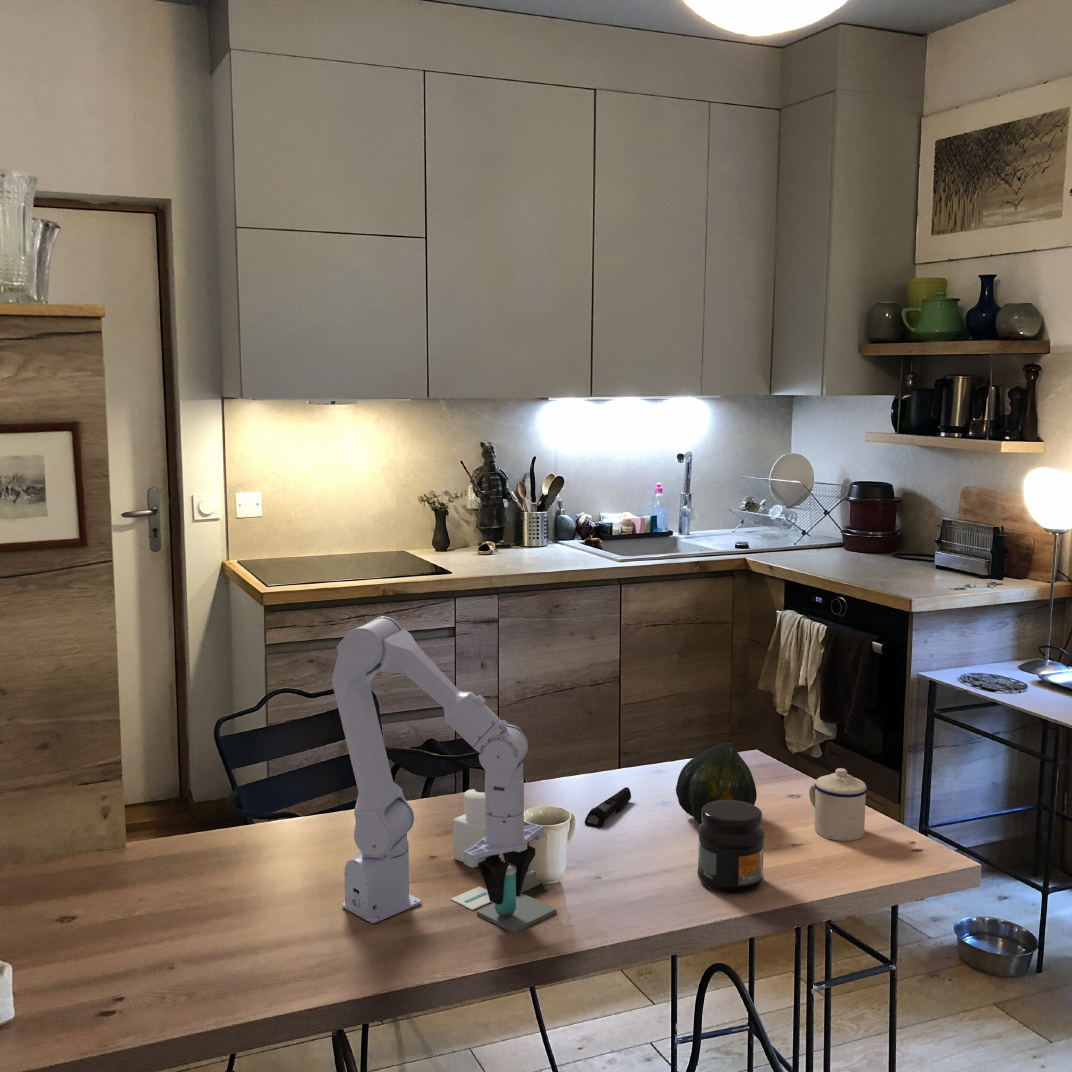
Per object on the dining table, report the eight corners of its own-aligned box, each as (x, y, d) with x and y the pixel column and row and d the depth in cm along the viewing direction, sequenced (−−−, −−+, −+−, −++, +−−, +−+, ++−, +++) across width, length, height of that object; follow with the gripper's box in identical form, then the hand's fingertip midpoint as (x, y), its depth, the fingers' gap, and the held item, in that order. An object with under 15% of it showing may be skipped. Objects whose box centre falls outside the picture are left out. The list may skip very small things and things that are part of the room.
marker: (505, 919, 158) (504, 874, 158) (489, 912, 161) (489, 867, 160) (521, 911, 161) (520, 867, 160) (505, 904, 163) (505, 860, 162)
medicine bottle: (481, 845, 188) (480, 779, 186) (512, 856, 183) (512, 788, 182) (452, 859, 182) (452, 790, 181) (484, 870, 178) (483, 800, 176)
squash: (658, 801, 194) (715, 743, 191) (666, 776, 209) (720, 722, 205) (716, 857, 193) (775, 800, 189) (720, 828, 207) (775, 775, 204)
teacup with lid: (876, 836, 192) (879, 773, 191) (838, 846, 188) (841, 781, 186) (827, 813, 202) (830, 753, 201) (791, 822, 198) (793, 761, 197)
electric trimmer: (636, 803, 209) (636, 787, 208) (601, 830, 195) (601, 813, 195) (618, 800, 210) (618, 784, 210) (582, 826, 197) (582, 809, 197)
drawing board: (513, 933, 157) (513, 929, 157) (476, 914, 162) (476, 911, 162) (556, 912, 163) (556, 908, 163) (519, 895, 169) (519, 891, 169)
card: (472, 910, 164) (472, 908, 164) (450, 899, 167) (450, 898, 167) (501, 897, 168) (501, 896, 168) (479, 887, 171) (479, 886, 171)
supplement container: (777, 886, 172) (779, 814, 171) (726, 902, 167) (728, 827, 165) (733, 862, 181) (734, 793, 180) (683, 876, 176) (685, 805, 174)
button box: (514, 895, 169) (514, 880, 168) (488, 883, 173) (488, 868, 173) (541, 883, 173) (541, 868, 173) (515, 872, 177) (515, 857, 177)
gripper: (486, 831, 151) (487, 923, 153) (558, 804, 161) (557, 890, 163) (453, 818, 156) (454, 907, 158) (524, 792, 166) (525, 876, 168)
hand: (504, 897), depth 161 cm, fingers closed on marker, 3 cm apart
